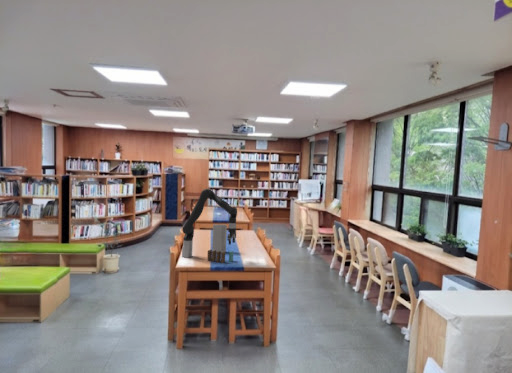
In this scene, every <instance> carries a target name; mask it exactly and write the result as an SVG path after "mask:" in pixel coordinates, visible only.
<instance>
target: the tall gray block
mask: <svg viewBox="0 0 512 373" xmlns="http://www.w3.org/2000/svg"><path fill="white" fill-rule="evenodd" d="M227 230H228V225H227V224H212V249H211V250H212V251H214V250H216V254H217V252H218V251H221V253H222V252H225V254H226V251H227V235H228V234H227V232H228V231H227Z"/></svg>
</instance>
